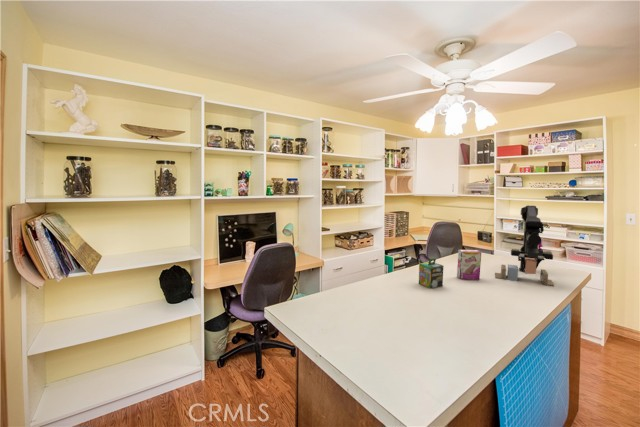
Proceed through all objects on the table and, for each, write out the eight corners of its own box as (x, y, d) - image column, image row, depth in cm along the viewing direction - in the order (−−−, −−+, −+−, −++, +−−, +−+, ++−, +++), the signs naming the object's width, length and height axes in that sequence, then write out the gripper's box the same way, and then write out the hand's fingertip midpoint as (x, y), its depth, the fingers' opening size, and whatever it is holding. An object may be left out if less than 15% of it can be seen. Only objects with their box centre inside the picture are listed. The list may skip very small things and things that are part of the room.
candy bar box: (459, 279, 166) (461, 251, 164) (456, 276, 171) (457, 249, 169) (480, 280, 165) (481, 251, 163) (476, 277, 170) (477, 249, 168)
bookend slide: (540, 279, 165) (540, 269, 164) (551, 280, 163) (551, 270, 162) (542, 284, 157) (543, 274, 156) (554, 286, 154) (555, 275, 153)
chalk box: (430, 281, 164) (431, 255, 162) (443, 286, 155) (444, 259, 154) (417, 283, 160) (418, 257, 158) (430, 288, 151) (431, 261, 150)
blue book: (507, 275, 172) (508, 264, 172) (516, 276, 170) (517, 265, 169) (507, 279, 165) (508, 267, 165) (517, 280, 163) (518, 268, 162)
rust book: (524, 269, 168) (525, 257, 167) (533, 270, 165) (534, 258, 165) (525, 273, 161) (526, 260, 160) (535, 274, 159) (536, 261, 158)
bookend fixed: (495, 273, 176) (495, 263, 176) (504, 274, 174) (505, 265, 173) (495, 278, 168) (495, 268, 167) (505, 279, 165) (506, 269, 165)
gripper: (512, 242, 159) (510, 270, 161) (556, 246, 150) (553, 275, 151) (511, 239, 169) (509, 265, 170) (552, 242, 159) (549, 270, 161)
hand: (529, 269), depth 163 cm, fingers closed on rust book, 4 cm apart
